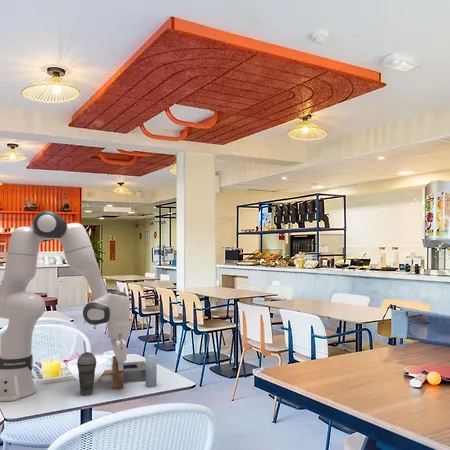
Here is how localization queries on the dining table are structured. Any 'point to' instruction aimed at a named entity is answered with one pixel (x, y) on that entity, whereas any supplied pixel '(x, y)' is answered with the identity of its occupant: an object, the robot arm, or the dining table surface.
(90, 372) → the beverage cup
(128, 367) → the bore block
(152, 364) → the round peg
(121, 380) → the square peg
